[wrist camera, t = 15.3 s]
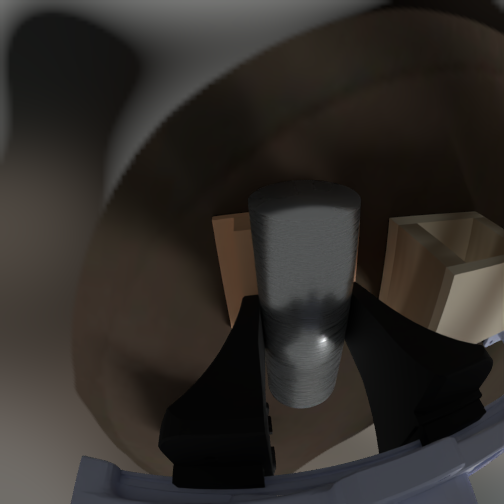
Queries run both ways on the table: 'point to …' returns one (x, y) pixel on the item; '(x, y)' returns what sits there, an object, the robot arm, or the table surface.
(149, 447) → the table surface
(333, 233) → the axle
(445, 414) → the robot arm
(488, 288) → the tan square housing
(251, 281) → the cradle
